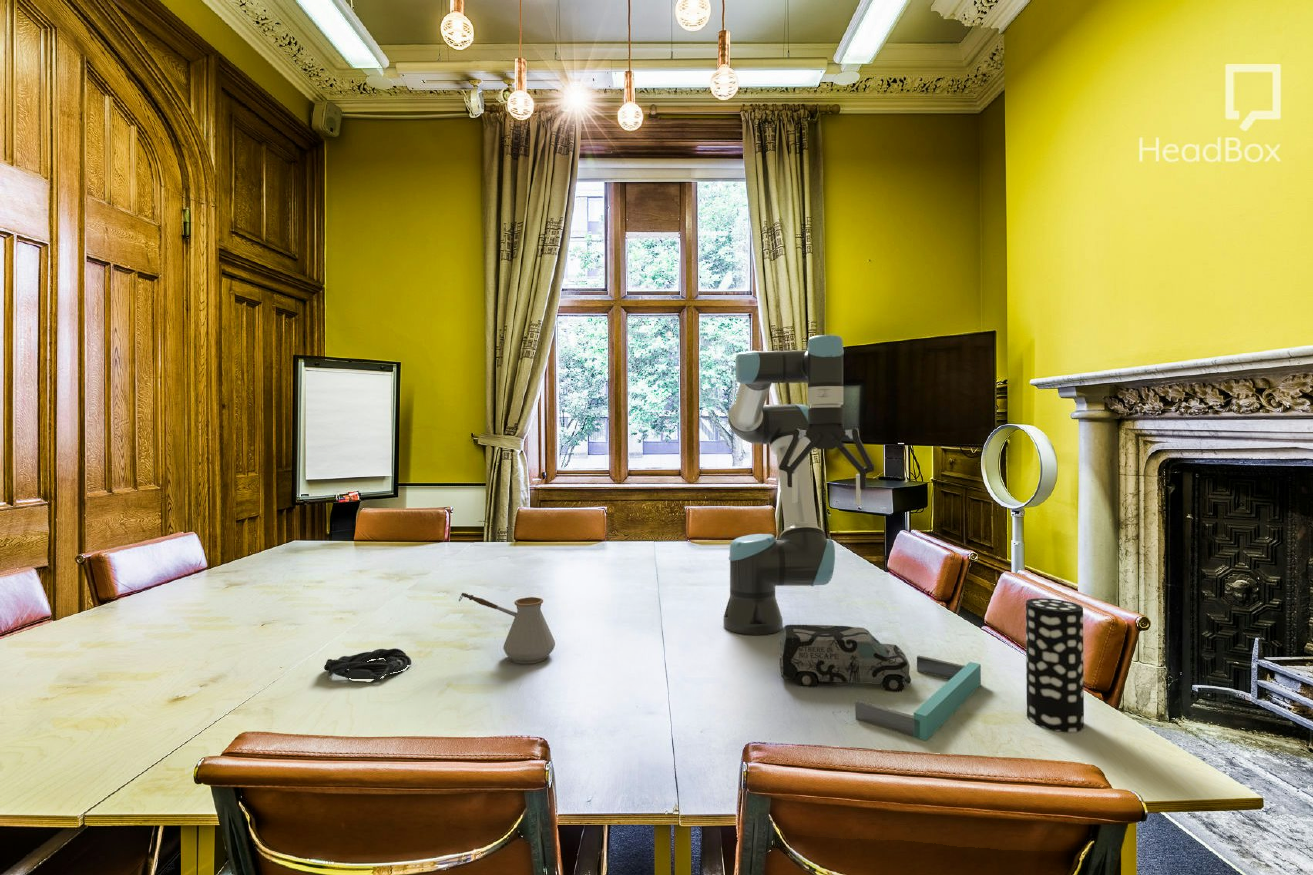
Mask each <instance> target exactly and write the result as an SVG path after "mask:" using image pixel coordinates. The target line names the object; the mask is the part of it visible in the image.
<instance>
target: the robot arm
mask: <svg viewBox="0 0 1313 875" xmlns="http://www.w3.org/2000/svg"><path fill="white" fill-rule="evenodd" d="M843 342H844V341H843V338H842V336H840V335H836V334H822V335H821V334H820V335H814V336H811V337H809V339H808V340H807V349H806V350H770V351H769V350H759V351H757V350H750V351H740V352H738V353H737V354H736V358H735V367H734V368H735V379H736V381H737V382H738V383H739V386H738V390H737V395H736V399H735V402H733V404H732V405H731V407H730V408H729V412H728V416H727V418H728V424H729V426H730V428H731V430H732V432H733V433H734V434H735V435H736V436H737V437H738V438H740V439H741V440H743V441H745V442H747V443H750V444H755V445H769V448H770V451H771V453H772V454H774V455H776V462H777V469H778V470H777V472H778V478H779V487H780V497H781V505H782V515H783V523H784V524H783V525H784V530H783V531H782V532H781V533H780V535H779V538H780V539H776V537H775V535H773V533H772V534H771V533H754V534H748V535H747V534H746V535H742V536H739V537H736V538H735V539H733V540H732V541H731V542H730V544H729V557H728V560H729V598H728V601H727V603H726V604H727V605H726V608H725V611H724V614H723V627H724V629H726V630H728V631H730V632H733V633H736V634H740V635H742V634H743V635H750V636H752V635H753V636H754V635H755V636H759V635H761V636H762V635H770V634H775V633H777V632H780V631H782V629H784V626H783V624H784V623H783V616H782V613H781V610H780V607H779V603H778V601H777V600H778V599H777V598H776V587H779V586H781V587H789V586H791V587H799V586H800V587H803V586H804V587H805V586H806V587H814V586H825V585H828V584H829V583H830V582H831V580H832V578H833V576H834V571H835V564H836V548H835V543H834V541H833V540H832V539H830V538H826V534H825V531H824V529H822V528H821V527H819V526H818V520H817V512H816V506H815V498H814V490H813V485H812V476H811V470H810V463H809V457H808V456H809V454H810V453H811V452H812V451H813V450H814V449H815V448H816V449H817V450H825V449H826V450H834V449H837V450H839V451H840V453H841V454H842V455H843V456H844V457H845V458H846V460H848V461H849V463H850V464H851V465H852V466H853V467H854V468H855V469H856V471H857V472H858V473H856V474H855V505H856V506H861V505H862V490H866V488H867V474H868V473H871V472H874V471H875V469H876V468H875V465H874V463H873V461H872V459H871V457H870V455H869V454H868V452H867V450H866V448H865V446H864V443H863V442H862V440H861V438H860V430H859V429H858V428H853V429H845V426H844V420H845V418H844V417H845V416H844V408H843V407H841V406H842V405H844V353H845V350H844V343H843ZM795 383H796V384H802V383H803V384H804V383H806V384H807V405H805V404H797V403H790V404H766V400H767V397H768V395H769V392H770V389H771V386H772V384H795ZM809 406H810V407H809ZM846 436H848V438H849V439H851V440H853V443H854V445H855V447H856V449H857V451H858V453H859V454H860V456H861V459H862V461H863V462H864V464H865V467H864V465H862V463H861V462H860V461H859V460H858V458H856V457H855V455H854V454H853V453H852V451H850V450H849V449H848V447H847V446H846V445H845V443H844V442H842V441H843V439H844V438H845V437H846Z"/></svg>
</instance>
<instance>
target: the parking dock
mask: <svg viewBox="0 0 1313 875" xmlns="http://www.w3.org/2000/svg"><path fill="white" fill-rule="evenodd" d="M981 669H982V666H981V663H976V662H972V661H969V662H968V663H967V664H965V665H963V664H958V663H955V662H950V661H945V660H942V659H936V658H931V657H928V656H923V655H920V654H919V655H917V656H916V671H917V672H920V673H923V674H928V675H931V676H936V677H939V678H945V679H949V680H947V682H946V683H944V684H943V685H942V686H941V687H939V689H938V690H937V691H936V692H935V693H933V694H932V695H931V696H930V697H928V699H927V700H926V701H924V703H922V704H921V705H920V706H918V708H917V709H915V711H914V712H913V715H912V714H908V713H905V712H902V711H897V710H894V709H891V708H888V707H885V706H881V705H878V704H873V703H871V702H867V701H863V700H861V699H857V700H855V702H854V703H855V719H856V720H858V721H862V722H865V723H868V724H872V725H874V726H878V727H881V728H884V729H887V730H891V731H893V732H897V733H900V734H903V735H907V736H910V737H913V738H915V739H919V740H922V741H927V740H929V738H930V737H931V736H932V735H933V734H935V732H937V731H938V730H939V728H941V726H943V724H944V723H945V722H946V721H948V719H949V718H950V717H951V716H952V715H953V714H954V713H955V712H956V711H957V710H958V709H959V708H960V707H961V706H962V705H963V704H964V703H965V701H967V700H968V698H970V697H971V696H972V694H974V692H975V691H977V689H978V688H979V687H980V686H981V685H982V680H981V679H982V676H981V675H982V672H981V671H982V670H981Z"/></svg>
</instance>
